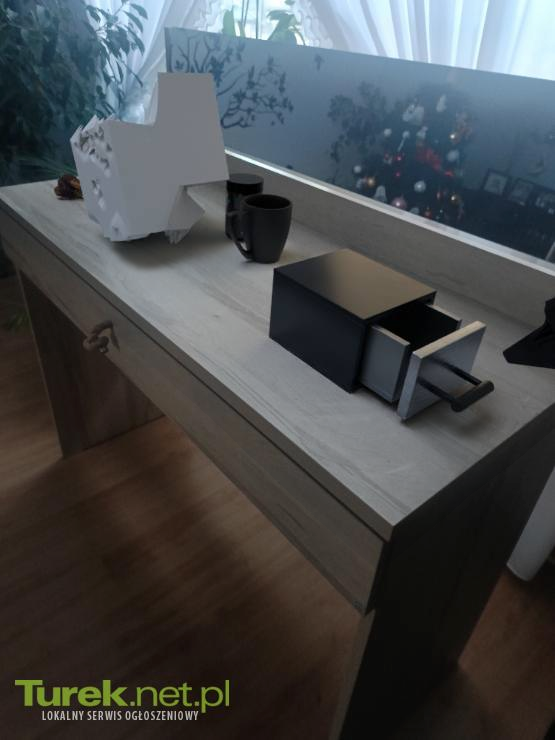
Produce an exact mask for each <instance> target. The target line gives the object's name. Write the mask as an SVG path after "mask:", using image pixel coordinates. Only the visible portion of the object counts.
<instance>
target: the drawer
mask: <svg viewBox="0 0 555 740" xmlns="http://www.w3.org/2000/svg"><path fill="white" fill-rule="evenodd" d="M462 322H463V318H462V317H460V316H458V315H456V314H453V313H452V312H450V311H448V310H446V309H444V308H442V307H440V306H438V305H435V304H431V303H429V302H427V301H423V302H421V303H418V304H416V305H413V306H411V307H408V308H406V309H403V310H401V311H398V312H396V313H394V314H391V315H389V316H386V317H384V318H381V319H379V320H376V321H374V322H371V323H369V324H367V328H366V333H365V339H364V344H363V349H362V354H361V359H360V364H359V369H358V374H357V379H356V380H358V381H359V382H361V383H362V384H364V385H365V386H364V387H367V388H369V390H371V391H372V392H375V393H376V394H377V395H379V396H380V397H381V398H383V399H384V400H386V401H387V402H389V403H391V404H392V403H394V402H396V401H397V400H399V401H398V405H397V409H396V413H395V414H396V416H398V417H400V418H401V419H403V420H404V421H406V420H407V419H409V418H411V417H412V416H414V415H416V414H418V413H419V412H421V411H422V410H424V409H426V408H428V407H430V406H431V405H432V404H434V403H436V402H437V401H439V400H443V401H444V402H446V403H447V404H449V407H450V409H451V410H452V411H453V412H454V413H457V414H459V413H461V412H463V411H465V410H466V409H468V408H470V407H471V406H473V405H475V404H476V403H477V402H479V401H480V400H482V399H484V398H485V397H487V396H488V395H489V394H492V393H493V392H494V391H495V384H494V382H493V381H491V380H488V379H485V380H483V381H482V380H481V379H480V378H477V377H476V376H474V375H472V374H471V372H472V369H473V366H474V364H475V360H476V358H477V354H478V352H479V349H480V346H481V343H482V341H483V337H484V335H485V332H486V329H487V326H488V325H487V324H485V323H483V322H481V321H479V320H476V321H474V322H472V323H470V324H468V325H466V326H464V327H462V328H461V326H462ZM467 383H469V384H470V385H473V387H472V388H470V389H468V390H467V391H464V393H462V394H460V395H459V396H457V397H455V396H453V395H451V393H453V392H455V391H456V390H458V389H460V388H461V387H463V386H465V385H466V384H467Z"/></svg>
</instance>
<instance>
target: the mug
mask: <svg viewBox="0 0 555 740" xmlns="http://www.w3.org/2000/svg"><path fill="white" fill-rule="evenodd" d="M293 204H294V203H293V202H292V200H291V199H289V198H287V197H284V196H282V195H277V194H271V193H270V194H269V193H263V194H254V195H248V196H246V197H244V198H243V199H242V208H241V211H232V212H229V213H227V214H226V217H225V216H224V225H225V224H226V228H227V230H228V232H229V234H230V236H231V238H232V239H233V240H232V239H231V240H232V241H233V243H234V245H235V247H236V249H237V250H238V251H239V253H240V254H241V255H242V257H243V258H244V259H246V260H250V261H252V262H255V263H258V264H273V263H277V262H278V261H280V259H281V258H282V257H281V256H282V254H283V250H284V248H285V246H286V244H287V240H288V237H289V234H290V229H291V224H292V218H293V217H292V215H293V206H294V205H293ZM240 214H241V222H242V231H243V237H244V242H243V243H244V246H245V248H244V247H243V246H242V244H241V242H239V241H238V239H237V237H236V235H235V233H234V230H233V227H232V219H233V217H234V216H235V215H240Z"/></svg>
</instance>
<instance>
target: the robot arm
mask: <svg viewBox="0 0 555 740" xmlns="http://www.w3.org/2000/svg"><path fill="white" fill-rule="evenodd" d="M543 312H544V313H543V314H544V316H545V319H544V322H543V324H542V325H540V326H539V327H536V329H534V330H533V331H531V332H530V333H528V334H526V335H525V336H524V337H523V338H521V339H519V340H517V341H516V342H515V343H513V344H512V345H510V346H509V347H507V348H506V349H504V350H503V351H502V356H503V357H504V359H505V361H506V363H507V364H509V365H517V366H525V367H534V368H541V369H542V368H544V369H550V370H555V295H554V296H552V297H550V298H548V299H546V300H545V301H544V307H543Z"/></svg>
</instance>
